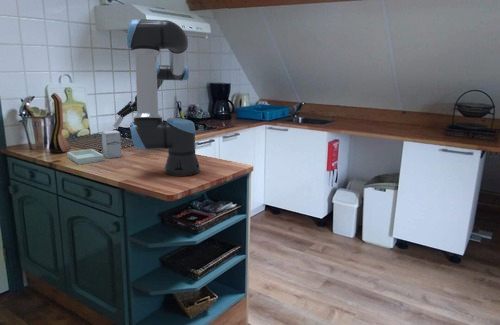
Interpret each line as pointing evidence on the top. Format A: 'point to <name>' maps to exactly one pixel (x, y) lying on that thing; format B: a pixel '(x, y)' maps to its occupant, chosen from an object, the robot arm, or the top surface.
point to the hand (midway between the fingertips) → (123, 128)
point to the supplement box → (111, 144)
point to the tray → (85, 156)
